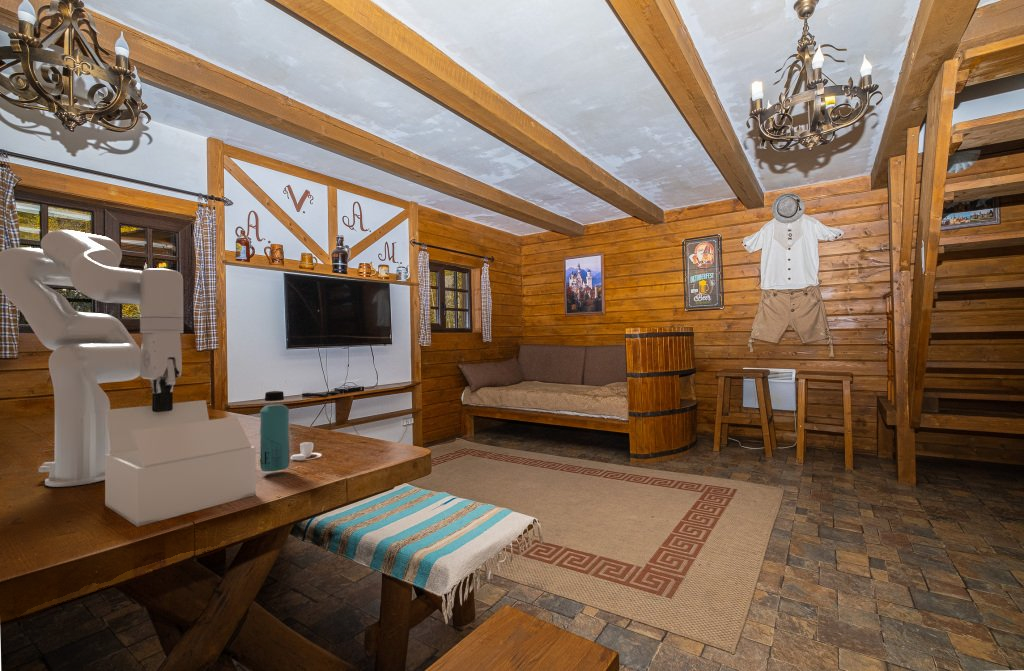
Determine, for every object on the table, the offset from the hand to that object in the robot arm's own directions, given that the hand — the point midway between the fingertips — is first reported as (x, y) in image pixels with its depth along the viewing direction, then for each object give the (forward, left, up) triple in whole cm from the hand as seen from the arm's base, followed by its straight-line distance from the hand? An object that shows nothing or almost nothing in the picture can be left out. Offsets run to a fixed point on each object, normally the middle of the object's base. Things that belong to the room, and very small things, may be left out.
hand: (162, 411), depth 101 cm
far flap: (0, 0, -3) cm, 3 cm away
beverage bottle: (+19, +10, -17) cm, 28 cm away
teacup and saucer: (+18, +26, -18) cm, 36 cm away
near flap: (+13, -11, -4) cm, 17 cm away
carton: (+8, -7, -17) cm, 20 cm away
